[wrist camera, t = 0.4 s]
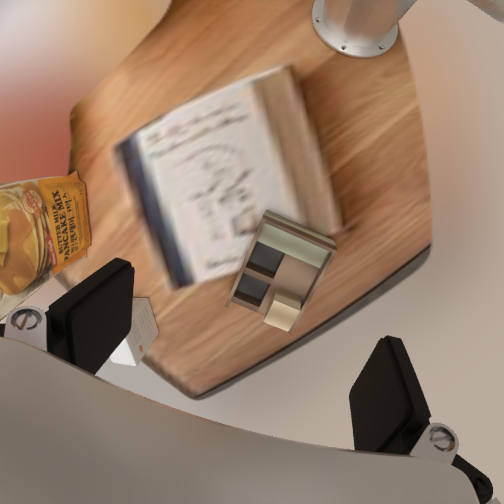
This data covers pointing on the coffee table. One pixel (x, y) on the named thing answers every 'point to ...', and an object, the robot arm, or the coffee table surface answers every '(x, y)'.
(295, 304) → the birch block
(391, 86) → the coffee table surface
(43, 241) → the pancake mix bag
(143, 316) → the small box
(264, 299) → the box
